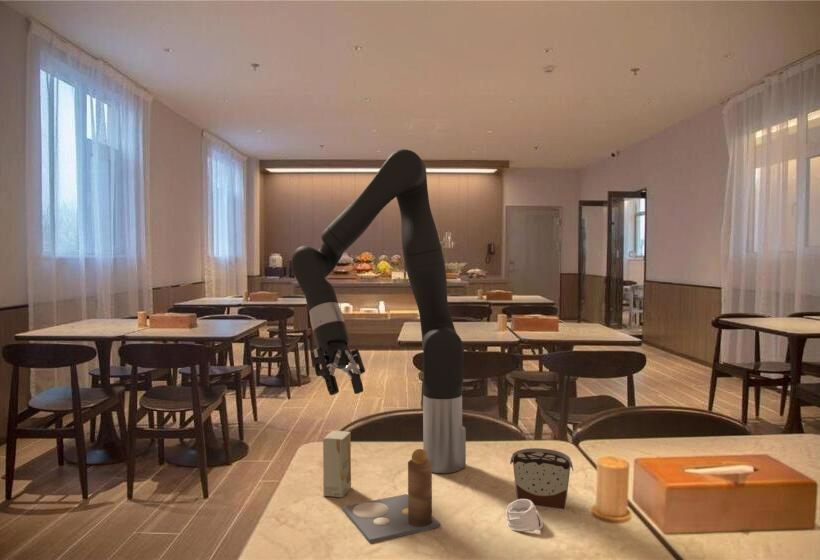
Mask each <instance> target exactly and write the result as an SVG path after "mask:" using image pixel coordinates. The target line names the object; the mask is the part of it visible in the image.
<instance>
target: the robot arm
mask: <svg viewBox="0 0 820 560" xmlns="http://www.w3.org/2000/svg"><path fill="white" fill-rule="evenodd" d="M427 178H428V177H427V168H426V164H425V162H424V161H423V159H422V158H421V157H420V156H419V155H418V154H417V153H416V152H414V151H413V150H411V149H405V148H403V149H398V150H395V151H394V152H392V153H391V154H390V155H389V156H388V158H387V159H386V160H385V161H384V163H383V164H382V166H381V167H380V168H379V170H378V171H377V173H376V174H375V175H374V177H373V178H372V180H371V181H370V182H369V183H368V184H367V186H366V187H365V188H364V189H363V190H362V191H361V193H360V194H359V195H358V196H356V198H355V199H354V200H353V201H351V203H350V204H349V205H348V206H346V208H345V209H344V210H343V211H342V212H341V213H340V214H339V215H337V216H336V218H335V219H334V220H333V221H332V222H330V224H329V225H328V226H327V227H326V228H325V229H324V230H323V231H322V233H321V240H322V244H321V246H320V247H319V248H318V249H316V248H314V247H312V246H309V245H302V246H299V247H297V248H296V249H295V250H294V251H293V253H292V255H291V261H290V262H291V264H290V265H291V269H292V272H293V275H294V277H295V279H296V281H297V283H298V285H299V287H300V289H301V291H302V293H303V294H304V296H305V300H306V301H305V302H306V305H307V308H308V312H309V318H310V319H309V320H310V324H311V328H312V332H313V335H314V340H315V343H316V348H315V349H313V350H311V351H310V352H311V358H312V363H313V366H314V371H315V375H316V377H321V378H322V379H323V380H324V381H325V385H326V388H327V391H328V394H329V395H330V396H335V395H336V394H338V393H339V391H340V390H339V386H338V383H337V379H336V375H335V372H336V369H338V370H342V372H343V373H346V374H347V375H348V376H349V377H350V383H351V386H352V389H353V393H354V394H356V395H359V394H361V393H363V392H364V386H363V382H362V378H361V375H362V374H364V373H365V372H366V369H365V366H364V363H363V360H362V356H361V354H360V351H359V349H358V348H355V349H350V347H349V346H348V345H349V341H350V336H349V333H348V329H347V326H346V321H345V319H344V315H343V311H342V310H341V307H340V305H339V301H338V298H337V295H336V291H335V288H334V286H333V285H332V284H331V283H330V282H329V281H328V280H327V279H326V278H327V277H328V276H329V275H330V274H331V273H332V272H333V271H334V269H335V268H336V266H337V265H338V263H339V261H340V260H341V258H342V257H343V256H344V254H345V252H346V250H348V249H349V247H351V246H352V245H353V244H354V243H355V242H356V241H357V240H358V239H359V238H360V237H361V236H362V235H363V234H364V233H365V231H366V230H367V229H368V228H369V226H370V225H371V224H372V223H373V221H375V219H376V217H377V216H378V214H380V213H381V211H382V210H383V209H384V208H385V207H386V206H387V205H389V203H391V201H393V200H394V199H395V198H396V201H397V205H398V207H399V208H398V209H399V213H400V221H401V222H400V223H401V224H400V225H401V228H400V229H401V246H402V247H401V249H402V256H403V260H404V266H405V270H406V273H407V278H408V281H409V285H410V288H411V291H412V295H413V297H414V299H415V300H414V301H415V303H416V306H417V311H418V316H419V320H420V321H419V323H420V331H421V347H422V353H423V379H422V381H423V382H422V419H423V420H422V422H423V423H422V427H423V428H422V430H423V431H422V436H423V437H422V442H423V445H422V446H423V448H422V449H423V450H424V451H426V453H427V455H428V460H430V461H431V462H432V473H436V474H450V473H452V474H453V473H456V472H459V471H460V470H461V469H464V468H466V467H467V450H466V444H467V443H466V439H467V437H466V436H467V433H466V430H467V429H466V427H465V426H464V425H463V386H464V357H465V356H464V344H463V341H462V338H461V337H460V336H459V334H458V333H457V331H456V329H455V325H454V322H453V317H452V314H451V311H450V308H449V303H448V302H449V301H448V283H447V282H448V281H447V280H448V279H447V271H446V263H445V259H444V254H443V249H442V244H441V242H440V237H439V233H438V229H437V226H436V223H435V219H434V217H433V214H432V210H431V204H430V199H429V190H428V179H427ZM320 366H321V367H320Z"/></svg>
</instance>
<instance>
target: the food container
mask: <svg viewBox="0 0 820 560" xmlns="http://www.w3.org/2000/svg"><path fill="white" fill-rule="evenodd" d="M509 464H510V465H512V466H513V476H514V484H515V495H516V500H518V499H528V500H530V501H532V503H533V504H534V505H535V507H536V508H544V509H550V510H551V509H552V510H559V511H566V510H567V500H568V491H569V490H568V489H569V483H570V482H569V481H570V473H571V469H572V472H574V468H573V467H574V466H573V462H572V460H571V457H570V456H569V455H567V454H566V453H563V452H561V451H558V450H555V449H550V448H540V447H539V448H537V447H534V448H532V447H531V448H524V449H519V450H516V451H514V452H513V453H512V456H511V457H510V461H509Z"/></svg>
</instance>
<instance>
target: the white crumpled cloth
mask: <svg viewBox="0 0 820 560" xmlns="http://www.w3.org/2000/svg"><path fill="white" fill-rule="evenodd" d="M523 510H524V511H523ZM505 524H506V526H507V527H508V529H510V531H513V532H533V531H534V532H535V531H536V530H542V528H543V526H544V525H543V524H544V523H543V520H542V517H541V515H540V513H539V511H538V510H537V507H535V505H534V504H533V503H532V501H530V500H528V499H518V500H517V499H516V500H514V501H511V502H510V503H509V504H508V506H507V507H506V509H505Z"/></svg>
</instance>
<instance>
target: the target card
mask: <svg viewBox="0 0 820 560" xmlns="http://www.w3.org/2000/svg"><path fill="white" fill-rule="evenodd" d="M341 509H342V512H343V513H344V514H345V515H346V516H347V518H348V519H349V520H350V522H352V524H354V526H355V528H356V529H357V530H358V531H359V532H360V533H361V534H362V536H363V537H364V538H365V540H366V541H367V542H368V543H370V544H371V543H376V542H380V541H385V540H390V539H394V538H399V537H402V536H406V535H411V534H416V533H421V532H423V531H424V532H425V531H429V530H433V529H438V528H441V527H442V525H441V522H439V520H438V519H436V518H435V517H434V516H433V515H432V523H431V524H430V525H428V526H424V527H416V526H413V525H411V524H409V522H408V493H404V494H400V495H395V496H390V497H385V498H384V497H383V498H380V499H373V500H368V501H363V502H359V503H354V504H349V505H343V506H341Z"/></svg>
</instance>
